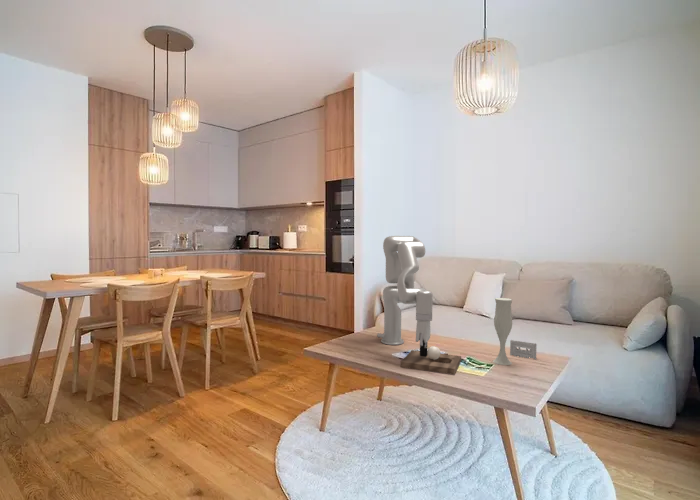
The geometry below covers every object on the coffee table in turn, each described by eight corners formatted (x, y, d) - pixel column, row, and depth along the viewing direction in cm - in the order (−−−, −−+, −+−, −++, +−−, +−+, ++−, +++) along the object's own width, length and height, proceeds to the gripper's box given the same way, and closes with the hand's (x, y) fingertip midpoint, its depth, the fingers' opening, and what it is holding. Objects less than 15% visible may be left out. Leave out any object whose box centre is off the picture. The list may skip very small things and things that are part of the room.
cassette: (509, 355, 198) (510, 340, 198) (510, 354, 199) (510, 339, 199) (535, 359, 191) (536, 344, 191) (536, 358, 193) (536, 343, 192)
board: (400, 367, 179) (400, 361, 179) (411, 355, 197) (411, 350, 197) (454, 374, 169) (454, 368, 169) (461, 361, 188) (461, 356, 188)
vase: (488, 360, 189) (489, 298, 188) (502, 358, 193) (503, 297, 192) (502, 366, 181) (503, 301, 180) (516, 363, 185) (517, 300, 184)
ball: (428, 346, 180) (440, 352, 178) (432, 342, 185) (443, 348, 183) (423, 357, 182) (435, 363, 179) (427, 353, 187) (439, 359, 185)
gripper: (420, 313, 192) (419, 350, 193) (411, 319, 179) (411, 359, 179) (435, 314, 189) (434, 352, 190) (428, 320, 176) (427, 361, 176)
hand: (423, 355), depth 185 cm, fingers closed
